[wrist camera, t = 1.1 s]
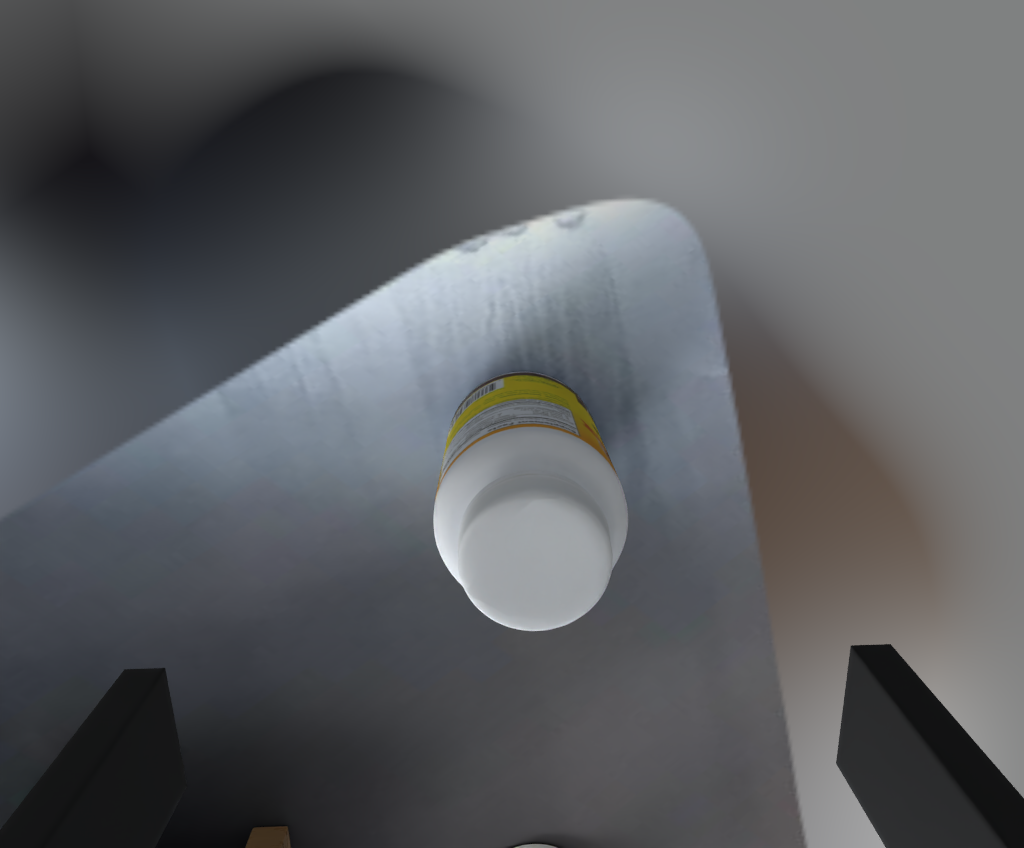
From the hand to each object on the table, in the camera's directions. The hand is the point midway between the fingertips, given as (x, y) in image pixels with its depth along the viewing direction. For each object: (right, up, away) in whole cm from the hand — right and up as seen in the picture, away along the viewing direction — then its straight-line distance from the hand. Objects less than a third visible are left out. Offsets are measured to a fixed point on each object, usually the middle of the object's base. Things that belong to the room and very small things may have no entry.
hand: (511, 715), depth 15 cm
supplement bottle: (0, +5, +14) cm, 15 cm away
